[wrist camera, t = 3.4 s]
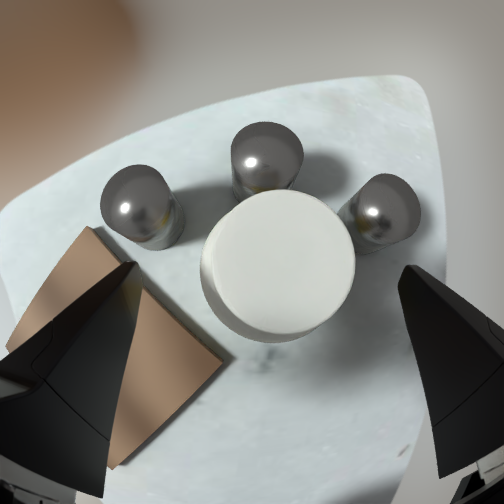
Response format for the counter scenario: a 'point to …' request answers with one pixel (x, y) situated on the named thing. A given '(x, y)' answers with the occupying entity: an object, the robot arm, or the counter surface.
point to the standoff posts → (254, 182)
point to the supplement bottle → (277, 266)
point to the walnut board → (141, 352)
